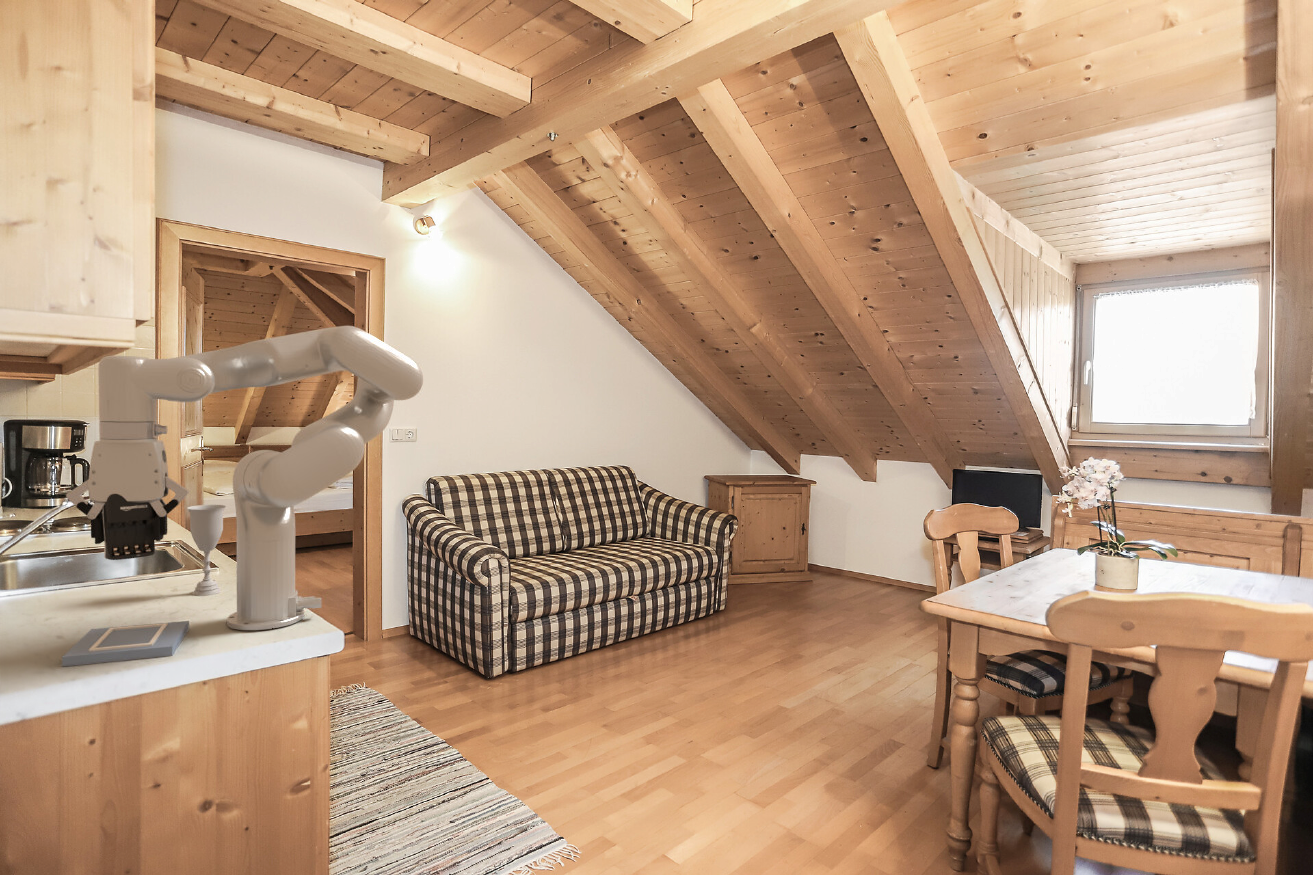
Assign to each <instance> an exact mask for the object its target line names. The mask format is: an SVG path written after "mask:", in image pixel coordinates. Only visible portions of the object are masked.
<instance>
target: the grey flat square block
mask: <svg viewBox="0 0 1313 875" xmlns="http://www.w3.org/2000/svg"><path fill="white" fill-rule="evenodd" d="M189 630H190V620H183V621H171V622H160V623H159V622H158V623H149V624H148V623H147V624H137V625H136V624H134V625H125V626H123V625H122V626H112V627H111V626H109V627H100V628H91V629H90V630H89V631H88V632H86V634H84V636H82V638H80V639H79V640H78V641H77V642H76V643H75V644H74V645H73V646H72V647H71V648H70V649H69V650H68V651H66V653H65V654H63V656H62V657H61V660H62V661H61V665H62V667H71V666H82V665H92V664H101V663H103V664H104V663H113V662H122V661H130V660H131V661H132V660H139V659H140V660H141V658H143V659H151V658H160V657H161V658H162V657H171V656H172V657H173V655H174V653H175V652H176V651H177V649H178V648H179V646H180V644H182V643H181V642H182V640H183V639H184V638H185V637H186V635H187V633H188V631H189Z"/></svg>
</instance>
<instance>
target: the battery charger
mask: <svg viewBox="0 0 1313 875" xmlns="http://www.w3.org/2000/svg"><path fill="white" fill-rule="evenodd" d="M102 516H103V531H104V541H103V544H104V547H103V548H104V556H103V557H104V559H105V560H111V561H119V560H120V561H121V560H122V561H123V560H127V559H128V560H129V559H137V558H146V557H149V556H153V555H155V554H156V545H155V542H156V540H154V518H155V517H156V511H155V510H154V508H153V507H152V505H151V504H150V503H149V502H138V503H136V502H129V501H127V500H126V499H125V498H124V497H123V496H121V495H119V494H112V495H109V497H108V498H107V501H106V503H105V505H104V507H103V508H102Z"/></svg>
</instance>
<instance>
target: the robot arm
mask: <svg viewBox="0 0 1313 875" xmlns="http://www.w3.org/2000/svg"><path fill="white" fill-rule="evenodd" d="M336 372H349V373H351V374H352V375H354V376H355V377H357V385H356V391H355V394H354V396H353V397H352V399H351V400H350V401H349V402H348V403H346V404H344V405H343V406H341V407H339V408H338V409H337V410H335V411H333V412H331V413H329V414H327V415H326V416H324V417H322V418H320V419H318V420H316V421H314V422H312V423H310V424H308V425H305V427H303V428H301V429H299V431H298V432H297V433H296V434H295V436H293V439H292V441H291V446H290V447H289V448H288V449H286V450H283V451H281V452H280V451H277V450H276V451H275V450H271V449H261V450H255V451H252V452H250V453H247V454H246V455H245V456H242V458H241V459H239V461H238V463H237V464H236V466H235V468H234V470H233V474H232V489H233V490H232V492H233V499H234V504H235V505H234V506H235V519H236V611H235V612H233V613H231V614H230V615H228V617H227V618H226V625H227V627H229V628H230V629H233V630H239V631H266V630H272V628H273V629H278V628H284V627H287V626H290V625H293V624H295V623H298V622H300V621H301V620H303V619H304V618H305V610H304V608H305V609H321V608H322V597H316V596H312V595H311V596H305V597H303V596H302V595H298V593H299V592H298V590H297V589H296V515H295V507H294V506H297V505H299V504H301V503H303V502H305V501H307V500H309V499H311V498H312V497H314V496H315V495H317V494H319V493H320V492H322V491H323V490H325V489H327V488H329V487H330V486H332V485H333V484H335V483H337V482H338V481H340V480H341V479H343V478H345V477H346V476H348V475H349V474H350V473H352V472H353V471H354V470H355V469H356V468H357V467H358V466H359V465H360V463H361V461H362V460H363V457H364V454H365V449H366V448H365V445H366V444H367V443H369V442H370V441H372V440H374V439H375V438H376V437H378V436H379V435H380V434H381V433H383V431H385V429H386V428H387V426H388V425H389V423H390V420H391V417H392V414H393V410H394V404H395V401H406V400H410V399H412V398H414V397H416V395H418V394H419V392H420V391H421V390H422V387H423V384H424V376H423V372H422V370H421V368H420V366H419V365H418V364H417V363H416V362H415V361H414V360H413V359H412V358H410V357H409V356H407V355H405V354H404V353H403V352H401V351H399V350H397V349H396V348H394V347H392V346H390V345H389V344H387V343H386V342H384V341H382V340H381V339H379V338H378V337H376V336H374V335H373V334H370V333H369V332H367V331H365V330H363V329H362V328H359V327H356V326H353V325H340V326H335V327H334V326H332V327H325V328H320V329H315V330H309V331H304V332H298V333H292V334H286V335H281V336H280V335H279V336H274V337H269V338H264V339H259V340H254V341H249V342H245V343H243V344H239V345H234V346H230V347H226V348H220V349H217V350H211V351H205V352H199V353H193V354H188V355H183V356H178V357H177V356H176V357H171V358H149V357H144V356H135V355H134V356H133V355H132V356H131V355H130V356H129V355H107V356H104V357H102V358H101V359H100V361H99V362H98V415H99V417H98V420H99V421H98V422H99V423H98V424H99V425H98V427H99V428H98V429H99V430H98V431H99V440H95V441H94V443H93V446H92V451H91V457H90V462H89V463H90V464H89V472H88V479H87V480H85V481H84V482H82V483H80V484H79V485H78V486H76V487H75V488H73V489H71V490H70V491H69V492H67V493H66V494H65V497H66V498H67V499H68V500H69V501H70V502H71V504H73V505H74V506H75V507H76V508H77V510H79V511H80V512H82V513H83V514H84V515H85V516H87V518H88V519H89V520H90V537H91V539H94V544H95V545H101V544H102V543H104V531H103V516H102V508H103V507H104V505H105V503H106V501H107V498H108V497H109V495H112V494H119V495H121V496H123V497H124V498H125V499H126V500H127V501H129V502H136V503H138V502H149V503H150V504H151V505H152V507H153V508H154V510H155V511H156V517H155V518H154V541H155V542H161V541H162V540H163V539H164V536H166V535H168V514H170V513H172V511H173V510H174V509H175V508H177V506H179V505H180V504H181V503H182V502H183V500H184V499H185V498H186V497H187V496H188V495H189V493H190V491H189V489H188V488H186V487H184V486H183V485H181V484H179V483H178V482H177V481H175V480H173V479H172V478H171V477H169V469H168V468H169V466H168V459H167V452H166V448H165V447H166V446H165V444H164V440H158V438H159V437H160V435H165V434H166V435H167V434H168V430H169V429H168V425H162V424H159V421H158V416H157V415H158V413H157V412H158V410H157V408H158V407H157V405H158V404H157V400H164V401H168V402H178V403H195V402H198V401H202V400H203V399H205V398H206V397H208V396H209V395H210V394H215V393H220V392H225V391H226V392H227V391H230V390H237V389H245V388H261V387H262V388H264V387H266V388H267V387H272V386H279V385H283V384H289V383H292V382H296V381H297V382H298V381H301V380H305V379H309V378H313V377H318V376H322V375H329V374H332V373H336ZM87 491H88V497H89V500H90V501H91V502H93V504H91V503H89V501H87V500H86V499H85V498H84V497H83V494H84V493H86V492H87ZM170 491H172V492H173V493H174V494H175V496H174V497H172V499H171V500H170V501H169V502H167V503H166V502H165V500H164V499H163V498H165V497H167V496H168V495H169V494H170V493H169V492H170Z"/></svg>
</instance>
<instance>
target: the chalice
mask: <svg viewBox="0 0 1313 875" xmlns="http://www.w3.org/2000/svg"><path fill="white" fill-rule="evenodd" d="M225 509H226V505H223V504H200V505H192V506H187V510H188V512H189V513H190V514H189V515H190V516H189V518H190V519H189V525H190V528H189V530H190V531H189V532H190V535H191V536H192V539H193V542H194V544H195V545H196V546H197V548H198V550H199V551H201V552H203V554H204V557H203V560H202V562H203V565H204V566H203V568H202V571H203V574H204V577H203V578H202V580H200V581H199V582H197V584H196V586H195V588H194V591H193V592H192V595H193V596H197V597H198V596H202V597H203V596H212V595H216V594H219V593H221V592H222V589H221V588H220V586H219V585H218V582H217V581H216V580H214V579H212V578H211V576H210V574H211V571H212V569H213V568H212V567H211V566H210V563H211V562H212V559H211V557H210V554H211V553H210V552H211V551H213V550H216V546H217V545H218V543H219V541H220V539H221V536H222V533H223V530H224V510H225Z"/></svg>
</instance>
